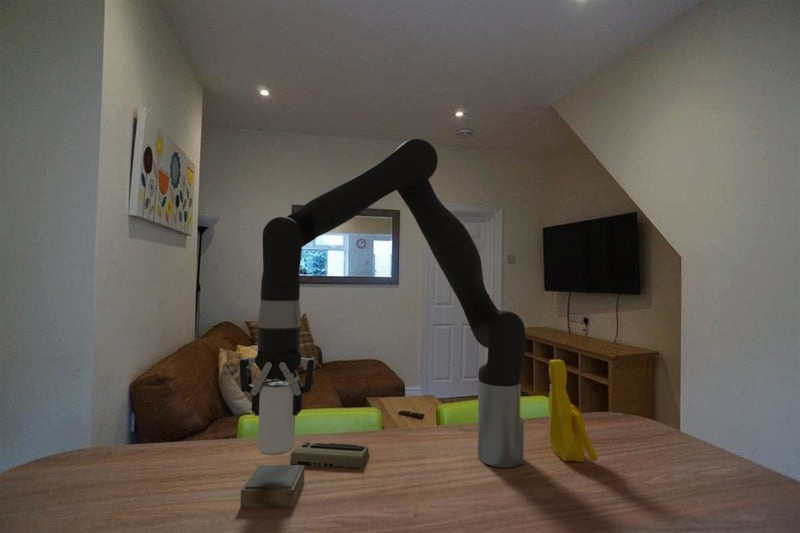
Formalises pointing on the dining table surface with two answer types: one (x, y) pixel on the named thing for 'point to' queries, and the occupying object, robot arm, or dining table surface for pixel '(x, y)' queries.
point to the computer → (330, 455)
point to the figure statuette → (566, 419)
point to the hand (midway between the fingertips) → (277, 414)
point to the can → (276, 418)
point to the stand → (273, 486)
